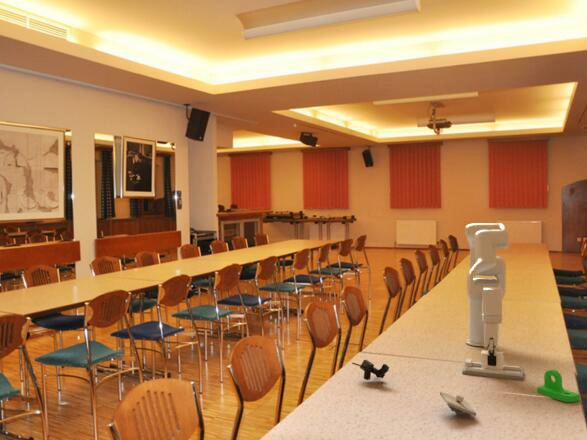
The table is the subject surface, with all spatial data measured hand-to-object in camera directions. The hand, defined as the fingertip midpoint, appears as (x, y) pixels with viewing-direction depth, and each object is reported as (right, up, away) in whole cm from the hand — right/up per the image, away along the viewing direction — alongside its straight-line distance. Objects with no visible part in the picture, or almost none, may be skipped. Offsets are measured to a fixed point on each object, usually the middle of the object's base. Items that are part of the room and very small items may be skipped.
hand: (492, 362), depth 208 cm
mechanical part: (+13, -5, -26) cm, 29 cm away
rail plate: (0, -4, 0) cm, 4 cm away
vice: (-46, -3, -11) cm, 47 cm away
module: (0, -3, 0) cm, 3 cm away
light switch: (-28, -5, -34) cm, 44 cm away
